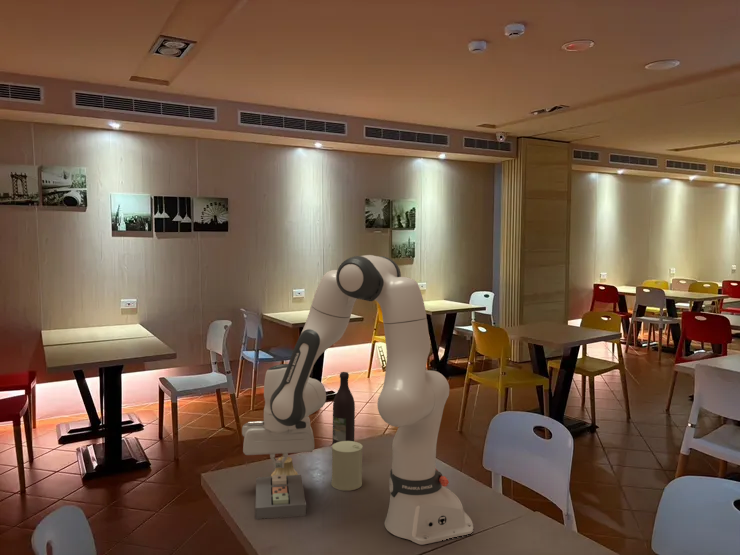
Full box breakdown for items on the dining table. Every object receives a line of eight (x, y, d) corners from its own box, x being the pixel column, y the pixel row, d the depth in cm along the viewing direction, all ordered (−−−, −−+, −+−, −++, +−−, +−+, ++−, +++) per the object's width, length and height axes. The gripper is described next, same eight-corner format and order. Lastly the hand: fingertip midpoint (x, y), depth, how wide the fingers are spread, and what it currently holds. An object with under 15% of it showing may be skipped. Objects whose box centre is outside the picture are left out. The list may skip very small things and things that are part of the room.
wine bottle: (330, 460, 187) (331, 370, 184) (351, 458, 188) (352, 369, 186) (334, 469, 180) (335, 375, 178) (356, 467, 181) (357, 374, 179)
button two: (287, 501, 154) (287, 492, 154) (288, 508, 150) (288, 498, 150) (272, 502, 153) (272, 493, 153) (273, 509, 149) (273, 499, 149)
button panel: (301, 484, 168) (301, 474, 168) (305, 515, 149) (305, 504, 149) (256, 487, 166) (256, 477, 165) (255, 519, 147) (255, 508, 147)
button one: (285, 482, 166) (285, 473, 165) (286, 488, 162) (286, 479, 162) (272, 483, 165) (272, 474, 165) (272, 489, 161) (272, 480, 161)
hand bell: (303, 474, 175) (304, 424, 174) (286, 484, 168) (286, 431, 167) (283, 468, 180) (283, 419, 178) (265, 477, 173) (265, 426, 171)
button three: (286, 494, 160) (286, 485, 160) (287, 501, 156) (287, 491, 156) (272, 495, 159) (272, 486, 159) (272, 502, 155) (272, 492, 155)
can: (358, 492, 164) (359, 451, 163) (327, 488, 165) (328, 448, 165) (365, 479, 173) (365, 440, 172) (335, 476, 174) (336, 438, 174)
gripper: (241, 425, 157) (241, 474, 158) (315, 422, 161) (314, 469, 162) (242, 418, 163) (242, 464, 164) (313, 415, 167) (312, 461, 168)
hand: (278, 467), depth 163 cm, fingers closed
